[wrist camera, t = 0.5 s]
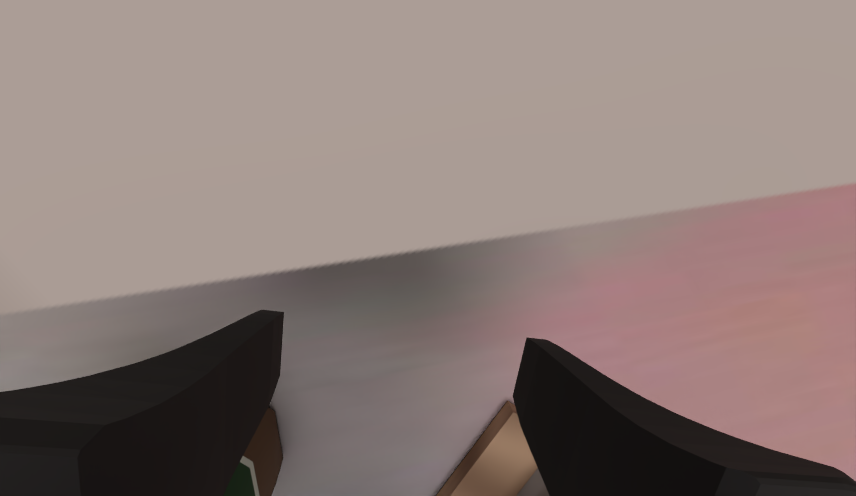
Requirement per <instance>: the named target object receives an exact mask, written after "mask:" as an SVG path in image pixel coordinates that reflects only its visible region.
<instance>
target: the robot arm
mask: <svg viewBox="0 0 856 496" xmlns="http://www.w3.org/2000/svg"><path fill="white" fill-rule="evenodd" d="M283 318H284V312H277V311H268V310H260V311H257V312H255V313H253V314H251V315H249V316H247V317H245V318H243V319H240V320H239V321H237V322H235V323H232V324H230V325H228V326H226V327H224V328H222V329H220V330H218V331H216V332H214V333H212V334H210V335H208V336H205V337H203V338H201V339H198V340H196V341H194V342H192V343H189V344H187V345H185V346H182V347H180V348H178V349H175V350H172V351H170V352H167V353H164V354H162V355H159V356H156V357H153V358H150V359H147V360H144V361H141V362H138V363H135V364H131V365H128V366H124V367H120V368H116V369H113V370H109V371H105V372H101V373H98V374H94V375H90V376H86V377H82V378H77V379H72V380H68V381H63V382H58V383H53V384H47V385H42V386H36V387H31V388H25V389H19V390H13V391H6V392H0V496H223V495H224V492H225V490H226V488H227V486H228V484H229V482H230V480H231V478H232V476H233V474H234V472H235V470H236V468H237V466H238V464H239V462H240V460H241V458H242V457H243V455H244V453H245V451H246V449H247V447H248V445H249V443H250V441H251V439H252V438H253V436H254V434H255V432H256V430H257V428H258V426H259V424H260V422H261V420H262V418H263V416H264V414H265V413H266V411H267V409H268V407H269V404H270V402H271V399H272V396H273V393H274V391H275V388H276V385H277V382H278V379H279V376H280V366H281V350H282V334H283ZM513 398H514V403H515V407H516V411H517V415H518V419H519V422H520V426H521V428H522V431H523V434H524V436H525V438H526V441H527V443H528V446H529V448H530V451H531V453H532V455H533V458H534V460H535V463H536V465H537V467H538V470H539V472H540V474H541V477H542V479H543V482H544V484H545V486H546V489H547V491H548V494H549V496H856V482H855V481H854V480H853V479H852V478H850V477H849V476H848V475H846V474H845V473H844V472H842V471H840V470H838V469H836V468H834V467H831V466H827V465H824V464H820V463H817V462H813V461H810V460H806V459H803V458H799V457H795V456H792V455H788V454H785V453H781V452H778V451H774V450H771V449H768V448H765V447H762V446H759V445H756V444H753V443H750V442H747V441H744V440H741V439H738V438H735V437H733V436H730V435H727V434H725V433H722V432H719V431H717V430H714V429H712V428H709V427H707V426H704V425H702V424H699V423H697V422H695V421H692V420H690V419H687V418H685V417H683V416H681V415H678V414H676V413H674V412H672V411H670V410H668V409H666V408H664V407H662V406H659V405H657V404H655V403H653V402H651V401H649V400H647V399H645V398H644V397H642V396H640V395H638V394H636V393H634V392H632V391H631V390H629V389H627V388H626V387H624V386H622V385H620V384H619V383H617V382H615V381H613V380H612V379H610V378H609V377H607V376H605V375H604V374H602V373H600V372H599V371H597V370H596V369H594V368H592V367H591V366H589V365H588V364H586V363H585V362H583V361H582V360H580V359H578V358H577V357H575V356H574V355H572V354H571V353H569V352H567V351H566V350H564V349H563V348H561V347H559V346H558V345H556V344H554V343H552V342H550V341H548V340H544V339H535V338H527V339H526V343H525V347H524V351H523V355H522V360H521V364H520V368H519V372H518V376H517V380H516V385H515V389H514V393H513Z"/></svg>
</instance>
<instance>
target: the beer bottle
mask: <svg viewBox="0 0 856 496" xmlns="http://www.w3.org/2000/svg"><path fill="white" fill-rule="evenodd" d="M282 460H283V455H282V450H281V444H280V439H279V433H278V428H277V422H276V417H275V412H274V410H272V409H270V408H269V407H268V409H267V411H266V413H265V414H264V416H263V418H262V420H261V422H260V424H259V426H258V428H257V430H256V432H255V434H254V436H253V438H252V439H251V441H250V443H249V445H248V447H247V449H246V451H245V453H244V455H243V457H242V458H241V460H240V462H239V464H238V466H237V468H236V470H235V472H234V474H233V476H232V478H231V480H230V482H229V484H228V486H227V488H226V490H225V492H224V495H223V496H271V495H272V492H273V490H274V487H275V484H276V481H277V478H278V474H279V471H280V467H281V464H282Z"/></svg>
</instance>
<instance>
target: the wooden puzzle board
mask: <svg viewBox="0 0 856 496" xmlns="http://www.w3.org/2000/svg"><path fill="white" fill-rule="evenodd" d="M436 496H549V494H548V491H547V489H546V486H545V484H544V482H543V479H542V477H541V474H540V472H539V470H538V467H537V465H536V463H535V460H534V458H533V455H532V453H531V451H530V448H529V446H528V443H527V441H526V438H525V436H524V434H523V431H522V428H521V426H520V422H519V419H518V415H517V411H516V407H515V405H514V404H512V403H510V402H509V401H507V402H506V404H505V405H504V406H503V408H502V409H501V410H500V412H499V413H498V414H497V416H496V417H495V418H494V420H493V421H492V422H491V424H490V425H489V426H488V428H487V429H486V430H485V432H484V433H483V434H482V436H481V437H480V438H479V439H478V441H477V442H476V443H475V445H474V446H473V447H472V449H471V450H470V451H469V453H468V454H467V455H466V457H465V458H464V459H463V461H462V462H461V463H460V465H459V466H458V467H457V469H456V470H455V471H454V473H453V474H452V475H451V477H450V478H449V479H448V481H447V482H446V483H445V485H444V486H443V487H442V489H441V490H440V491H439V493H438V494H437V495H436Z"/></svg>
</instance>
